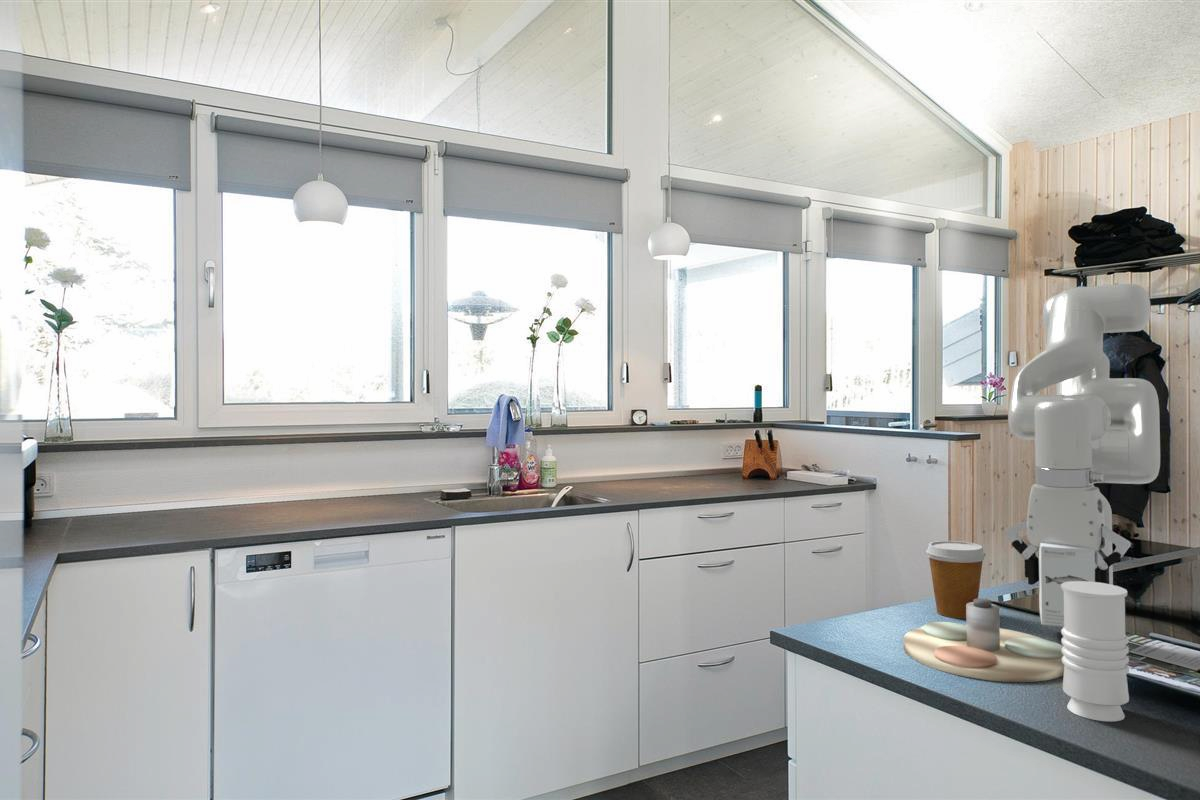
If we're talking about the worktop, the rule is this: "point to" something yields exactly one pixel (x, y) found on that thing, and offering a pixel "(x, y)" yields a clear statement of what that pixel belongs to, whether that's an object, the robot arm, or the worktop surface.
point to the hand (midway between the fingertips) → (1066, 587)
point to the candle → (1095, 649)
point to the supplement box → (1061, 577)
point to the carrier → (984, 648)
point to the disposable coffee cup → (955, 575)
